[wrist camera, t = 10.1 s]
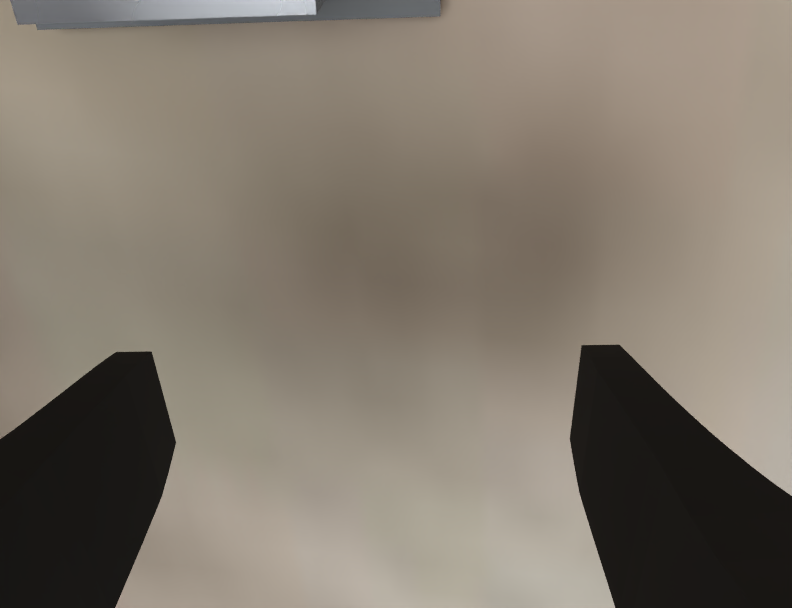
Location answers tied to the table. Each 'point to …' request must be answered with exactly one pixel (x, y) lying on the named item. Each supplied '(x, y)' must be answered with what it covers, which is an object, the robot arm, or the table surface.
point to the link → (153, 9)
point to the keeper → (339, 5)
